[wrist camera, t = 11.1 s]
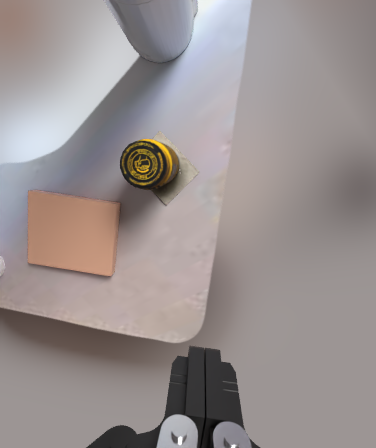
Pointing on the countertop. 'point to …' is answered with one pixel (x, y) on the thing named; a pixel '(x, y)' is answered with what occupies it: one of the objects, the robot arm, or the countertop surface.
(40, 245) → the tile
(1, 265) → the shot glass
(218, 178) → the countertop surface
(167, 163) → the condiment
